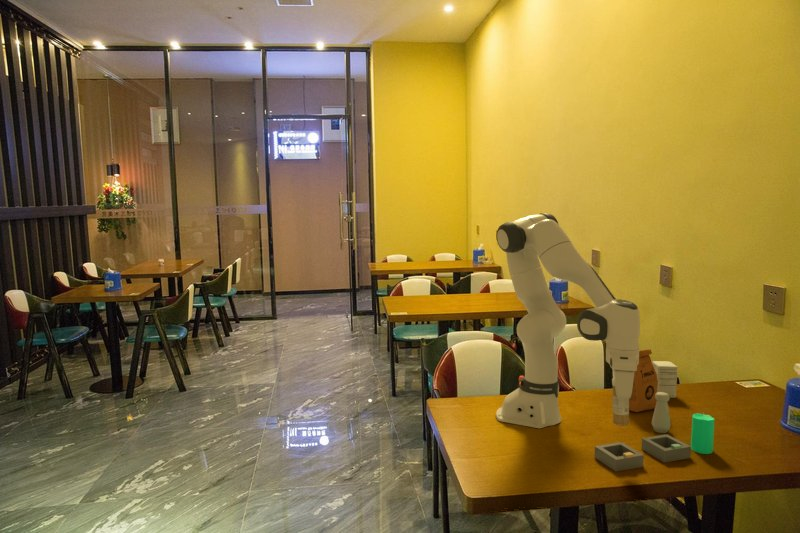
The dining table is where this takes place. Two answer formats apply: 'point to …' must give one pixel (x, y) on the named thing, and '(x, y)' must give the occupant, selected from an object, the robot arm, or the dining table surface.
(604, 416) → the dining table surface
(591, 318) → the robot arm
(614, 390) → the sprinkles bottle
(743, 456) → the dining table surface
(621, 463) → the gray open box
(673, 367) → the supplement box
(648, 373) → the coffee package
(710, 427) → the candle
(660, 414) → the salt shaker
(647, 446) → the grey square tray
